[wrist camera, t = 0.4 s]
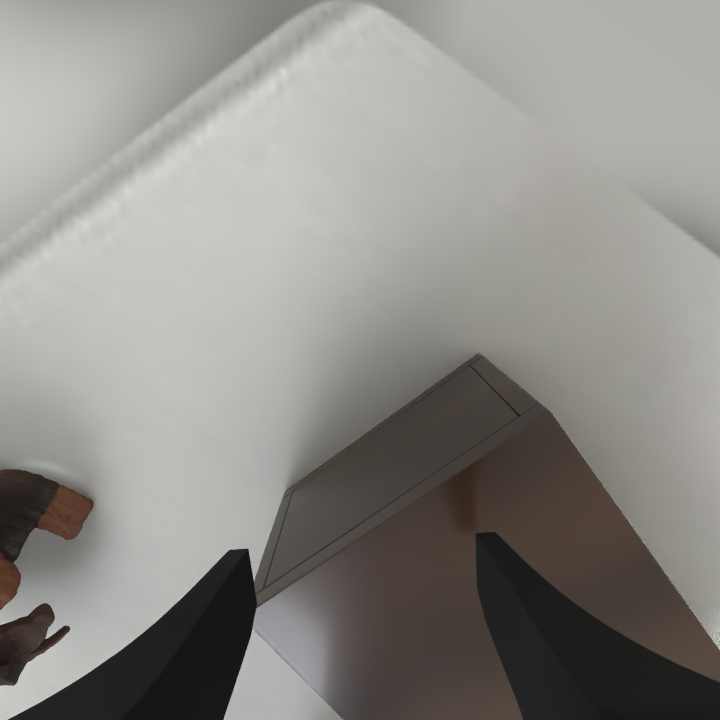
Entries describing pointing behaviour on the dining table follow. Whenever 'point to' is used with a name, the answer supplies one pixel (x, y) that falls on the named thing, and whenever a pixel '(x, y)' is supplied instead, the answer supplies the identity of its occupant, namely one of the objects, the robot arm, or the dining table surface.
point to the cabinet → (451, 556)
